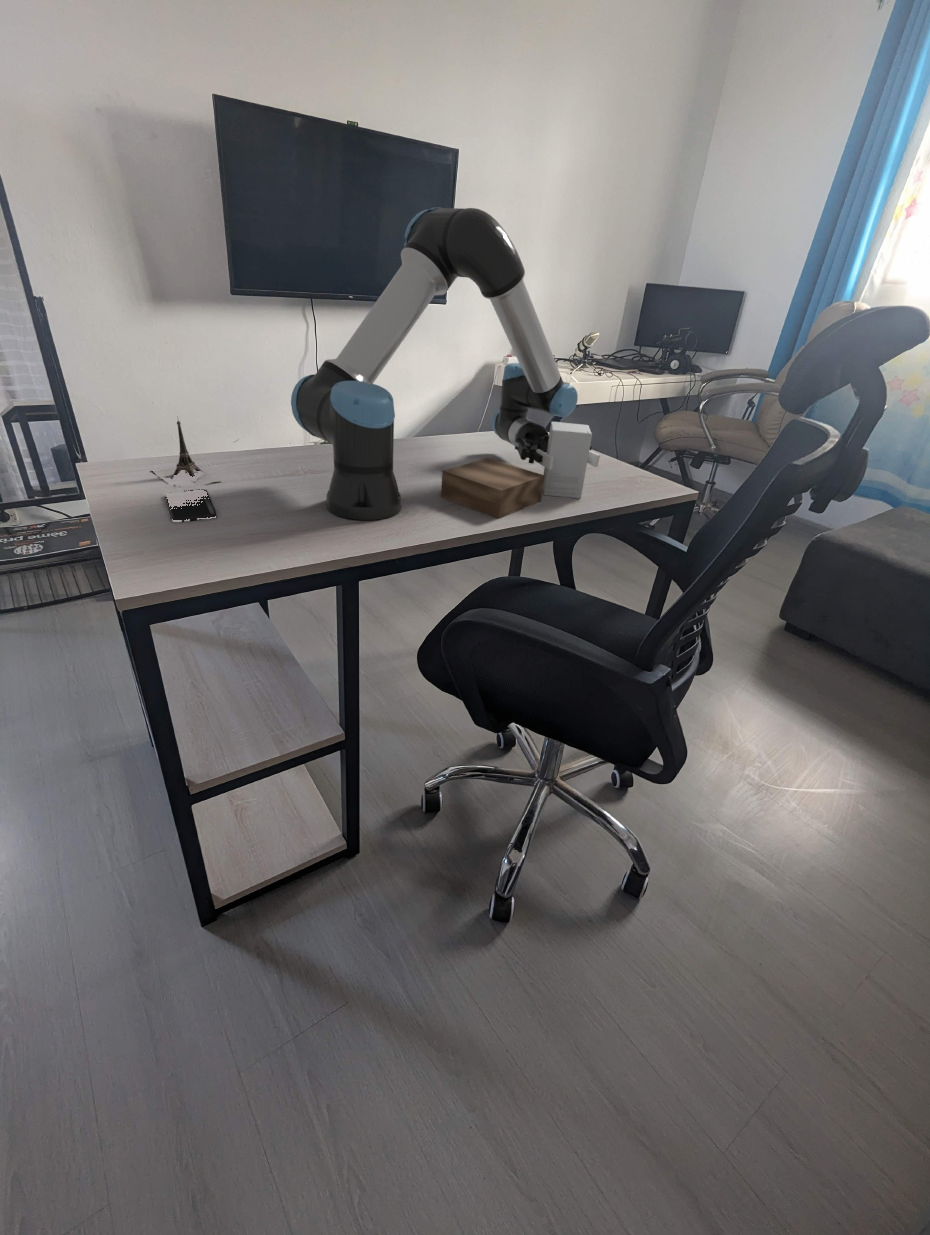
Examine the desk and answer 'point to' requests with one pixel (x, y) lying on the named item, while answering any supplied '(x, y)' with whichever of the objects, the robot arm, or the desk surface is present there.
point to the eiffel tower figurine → (184, 456)
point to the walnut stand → (492, 487)
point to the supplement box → (567, 459)
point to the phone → (193, 509)
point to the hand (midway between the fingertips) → (574, 462)
